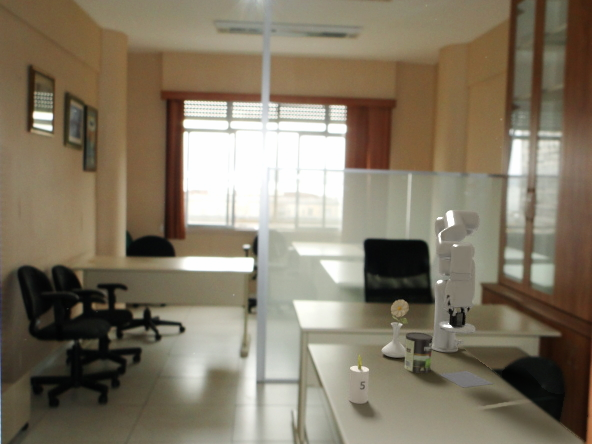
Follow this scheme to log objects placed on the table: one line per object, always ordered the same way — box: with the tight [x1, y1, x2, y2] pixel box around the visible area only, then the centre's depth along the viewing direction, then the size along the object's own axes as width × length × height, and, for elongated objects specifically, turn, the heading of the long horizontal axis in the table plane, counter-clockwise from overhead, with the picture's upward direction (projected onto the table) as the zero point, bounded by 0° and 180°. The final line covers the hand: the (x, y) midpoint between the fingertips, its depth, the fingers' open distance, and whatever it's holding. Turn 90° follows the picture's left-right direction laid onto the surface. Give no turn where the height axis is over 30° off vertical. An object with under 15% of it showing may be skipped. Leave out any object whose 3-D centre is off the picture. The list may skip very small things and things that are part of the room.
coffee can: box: [403, 331, 433, 374], centre depth 207 cm, size 10×10×14 cm
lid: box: [439, 310, 476, 334], centre depth 198 cm, size 13×13×6 cm
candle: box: [348, 354, 370, 404], centre depth 175 cm, size 6×6×15 cm
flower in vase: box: [381, 299, 410, 359], centre depth 224 cm, size 13×11×25 cm
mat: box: [438, 370, 494, 389], centre depth 197 cm, size 14×14×1 cm
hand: (457, 324), depth 199 cm, fingers closed on lid, 3 cm apart
